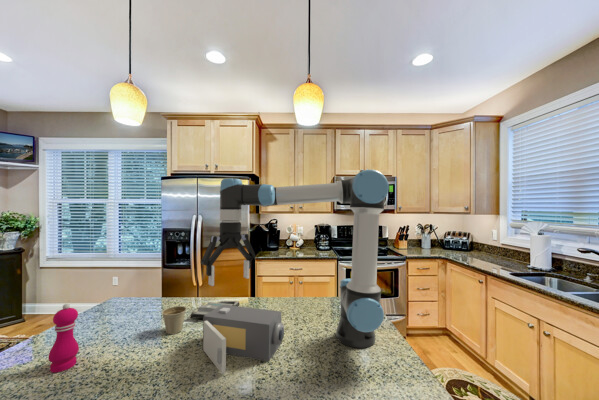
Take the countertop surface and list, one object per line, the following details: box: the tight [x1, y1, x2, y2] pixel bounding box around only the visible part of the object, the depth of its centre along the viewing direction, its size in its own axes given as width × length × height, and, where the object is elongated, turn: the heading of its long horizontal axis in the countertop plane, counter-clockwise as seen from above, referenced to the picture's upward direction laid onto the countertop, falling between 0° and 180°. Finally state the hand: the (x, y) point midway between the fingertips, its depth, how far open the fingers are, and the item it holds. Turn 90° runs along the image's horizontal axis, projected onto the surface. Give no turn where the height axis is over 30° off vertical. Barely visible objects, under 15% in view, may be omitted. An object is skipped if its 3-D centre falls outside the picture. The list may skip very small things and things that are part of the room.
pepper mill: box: [47, 303, 80, 374], centre depth 82 cm, size 7×7×20 cm
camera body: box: [202, 305, 285, 362], centre depth 93 cm, size 28×12×13 cm, turn 74°
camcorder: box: [190, 300, 240, 319], centre depth 124 cm, size 16×20×5 cm
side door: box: [202, 321, 227, 374], centre depth 83 cm, size 17×2×10 cm, turn 39°
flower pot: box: [161, 305, 188, 335], centre depth 106 cm, size 9×9×9 cm
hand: (229, 281), depth 89 cm, fingers open, 13 cm apart
